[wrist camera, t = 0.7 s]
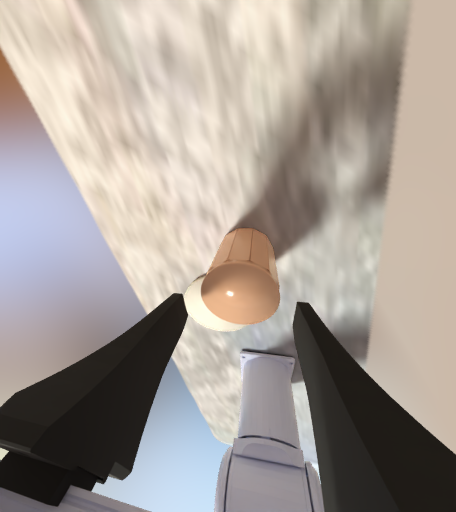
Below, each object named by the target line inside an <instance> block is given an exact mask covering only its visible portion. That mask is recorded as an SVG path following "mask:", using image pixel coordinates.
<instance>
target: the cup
mask: <svg viewBox="0 0 456 512" xmlns="http://www.w3.org/2000/svg"><path fill="white" fill-rule="evenodd" d="M201 297H202V300H203V302H204V304H205V305H206V307H207V308H208V309H209V310H210V311H211V312H212V313H213V314H214V315H216V316H217V317H219V318H220V319H222V320H225V321H227V322H230V323H234V324H242V325H249V324H255V323H259V322H262V321H264V320H266V319H268V318H269V317H271V316H272V315H273V314H274V313H275V312H276V310H277V308H278V306H279V303H280V293H279V281H278V275H277V268H276V262H275V256H274V250H273V246H272V244H271V243H270V241H269V239H268V237H267V236H266V235H265V234H263V233H261V232H259V231H257V230H256V229H254V228H237V229H236V230H234V231H232V232H230V233H229V234H227V235H226V236H225V237H224V239H223V241H222V243H221V245H220V247H219V249H218V251H217V253H216V255H215V257H214V259H213V262H212V264H211V266H210V268H209V270H208V272H207V274H206V276H205V278H204V280H203V282H202V285H201Z"/></svg>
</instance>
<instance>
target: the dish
mask: <svg viewBox="0 0 456 512" xmlns="http://www.w3.org/2000/svg"><path fill="white" fill-rule="evenodd" d="M204 278H205V276H203V277H201V278H198V279H196V280H195V281H194V282H192V283H191V285H190V286H189V288H188V289H187V291H186V293H185V296H184V302H185V306H186V310H187V312H188V313H189V315H190V316H191V317H192V318H193V319H194V320H195V321H197V322H198V323H199V324H201V325H203V326H205V327H207V328H210V329H213V330H217V331H235V330H239V329H241V328H243V327H245V326H247V325H242V324H234V323H230V322H227V321H225V320H222V319H220V318H219V317H217V316H216V315H214V314H213V313H212V312H211V311H210V310H209V309H208V308H207V307H206V305H205V304H204V302H203V300H202V297H201V285H202V282H203V280H204Z"/></svg>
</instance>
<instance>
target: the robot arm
mask: <svg viewBox="0 0 456 512" xmlns="http://www.w3.org/2000/svg"><path fill="white" fill-rule="evenodd" d="M187 317H188V313H187V310H186V306H185V302H184V298H183V295H182V294H177V293H174V294H172V295H171V296H170V297H169V298H167V299H166V300H165V301H164V302H163V303H161V304H160V305H159V306H158V307H157V308H156V309H154V310H153V311H152V312H151V313H149V314H148V315H147V316H146V317H145V318H143V319H142V320H141V321H139V322H138V323H137V324H135V325H134V326H133V327H131V328H130V329H129V330H127V331H126V332H125V333H123V334H122V335H120V336H119V337H117V338H116V339H115V340H113V341H111V342H110V343H109V344H107V345H105V346H104V347H102V348H100V349H99V350H97V351H95V352H94V353H92V354H90V355H89V356H87V357H85V358H84V359H82V360H80V361H78V362H76V363H75V364H73V365H71V366H69V367H67V368H65V369H64V370H62V371H60V372H58V373H56V374H54V375H52V376H50V377H48V378H46V379H44V380H42V381H40V382H37V383H35V384H34V385H31V386H29V387H27V388H25V389H23V390H21V391H19V392H17V393H15V394H14V395H13V396H12V397H11V398H10V399H8V400H7V401H6V402H5V403H4V404H3V405H2V406H1V407H0V448H3V449H5V450H8V451H9V452H8V453H7V454H6V455H5V457H4V458H3V459H2V460H0V512H150V511H147V510H144V509H141V508H138V507H135V506H132V505H129V504H126V503H123V502H120V501H117V500H114V499H111V498H108V497H105V496H102V495H99V494H96V493H93V492H91V491H92V489H93V487H94V485H95V483H96V482H98V483H101V484H104V483H105V482H106V480H107V477H108V476H109V477H113V478H116V479H119V480H123V479H125V478H126V477H127V476H128V475H129V474H130V473H131V472H132V469H133V465H134V461H135V458H136V454H137V451H138V447H139V444H140V441H141V437H142V434H143V431H144V428H145V425H146V422H147V418H148V415H149V412H150V409H151V406H152V404H153V400H154V398H155V395H156V392H157V389H158V386H159V384H160V381H161V378H162V375H163V373H164V371H165V368H166V366H167V364H168V362H169V360H170V357H171V355H172V353H173V351H174V349H175V347H176V345H177V343H178V340H179V338H180V336H181V334H182V332H183V329H184V326H185V323H186V320H187ZM293 332H294V339H295V345H296V349H297V353H298V357H299V361H300V365H301V369H302V373H303V378H304V382H305V386H306V390H307V395H308V400H309V406H310V412H311V419H312V425H313V432H314V438H315V445H316V452H317V459H318V466H319V473H320V480H319V476H318V473H317V471H316V470H315V469H314V467H312V464H311V463H310V462H308V461H305V464H304V458H303V451H302V450H301V448H300V441H299V434H298V427H297V420H296V413H295V406H294V399H293V392H292V385H291V377H292V373H293V369H294V365H295V359H294V358H293V357H286V356H278V355H270V354H262V353H255V352H247V351H241V353H240V357H241V378H242V391H241V403H240V416H239V428H238V438H234V444H233V447H229V448H228V450H227V452H226V453H225V455H224V456H223V458H222V461H221V465H220V469H219V474H218V480H217V487H216V496H215V508H214V512H456V454H454V453H453V452H452V451H451V450H450V449H448V448H447V447H446V446H445V445H444V444H443V443H442V442H440V441H439V440H438V439H437V438H436V437H435V436H433V435H432V434H431V433H430V432H429V431H428V430H426V429H425V428H424V427H423V426H422V425H421V424H420V423H419V422H418V421H416V420H415V419H414V418H413V417H412V416H411V415H410V414H409V413H408V412H407V411H406V410H404V409H403V408H402V407H401V406H400V405H399V404H398V403H397V402H396V401H395V400H394V399H392V398H391V397H390V396H389V395H388V394H387V393H386V392H385V391H384V390H383V389H382V388H381V387H380V386H379V385H378V384H377V383H376V382H375V381H374V380H373V379H372V378H371V377H370V376H369V375H368V374H367V373H366V372H365V371H364V370H363V369H362V368H361V367H360V365H359V364H358V363H357V362H356V361H355V360H354V359H353V358H352V357H351V356H350V354H349V353H348V352H347V351H346V350H345V349H344V348H343V347H342V345H341V344H340V343H339V342H338V341H337V339H336V338H335V337H334V336H333V334H332V333H331V332H330V331H329V329H328V328H327V327H326V326H325V324H324V323H323V322H322V320H321V319H320V318H319V316H318V315H317V314H316V312H315V311H314V309H313V308H312V307H311V305H310V304H309V303H305V302H297V305H296V310H295V316H294V321H293ZM320 481H321V484H320Z"/></svg>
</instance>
